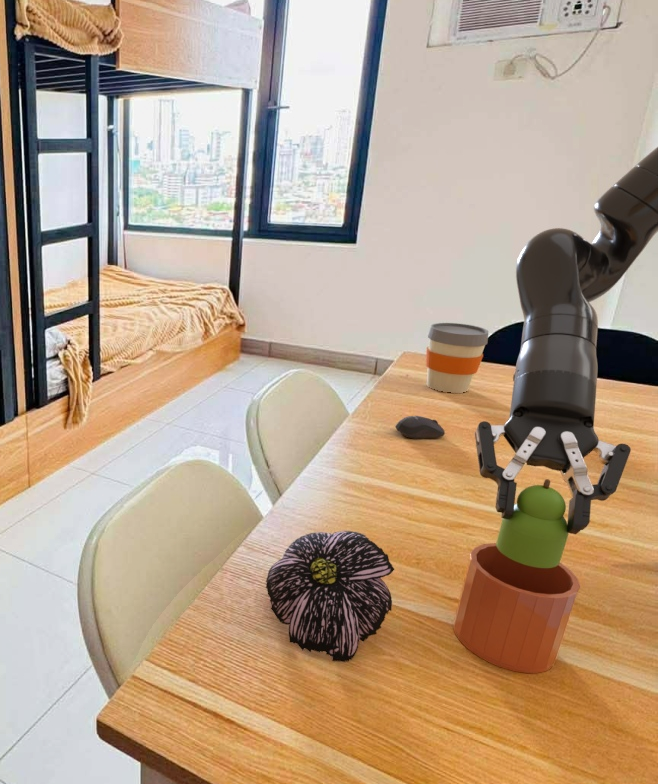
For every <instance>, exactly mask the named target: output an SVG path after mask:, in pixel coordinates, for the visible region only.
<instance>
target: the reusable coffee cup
mask: <svg viewBox="0 0 658 784" xmlns="http://www.w3.org/2000/svg"><path fill="white" fill-rule="evenodd" d="M427 338H428V346H427V347H426V353H425V354H426V355H425V366H426V367H427V369H426V371H427V372H426V386H427V387H428V388H429V387H430V389H431V388H432V390H434V389H435V390H434V391H437V390H438V392H441V391H443V392H442V393H447V392H451V393H450V394H464V393H463V392H465V393H467V392H468V390H469V389H470V385H471V384H472V381H473V378H474V375H475V374H477V373H478V370H479V368H480V366H481V362H482V360H483V358H484V353H483V352H484V349H485V347H486V345H488V341H489V330H488V329H486V328H484V327H480V326H476V325H472V324H467V323H457V322H437V323H433V324H431V325H430V328H429V331H428V335H427ZM466 391H467V392H466Z"/></svg>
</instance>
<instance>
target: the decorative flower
mask: <svg viewBox="0 0 658 784" xmlns="http://www.w3.org/2000/svg"><path fill="white" fill-rule="evenodd" d="M394 571H395V568H394V566H393V564H392V562H390V559H389V554H387V553H385V551H384V550H383V548H381V547H379V546H378V545H377V544H376V543H375V542H374V541H373V540H370V538H368V537H367V535H366V534H363V533H361V532H357V531H351V530H340V531H336V532H333V533H331V532H323V531H321V532H320V531H319V532H310V533H307V534H305V535H302V536H300V537H298V538H296V539H295V540H294V541H293V542H292V543H290V545H289V546H288V547H287V548H286V550H285V551H284V553H283V555H282V558H281V559H279V560H278V561H276V562H274V564H273V565H271V567H270V568H269V570H268V573H267V577H266V579H265V583H266V586H265V589H266V591H267V595H268V597H269V602H270V605H271V606H270V610H271V612H272V613H273V614H274V616H275V617H276V619H278V621H279V623H282V624H283V625H286V626H287V625H288V639H289V643H292V644H296V645H297V646H298V647H299V649H301V651H303V652H304V649H305V650H307V651H308V652H309V653H311V652H312V651H314V652H317V653H323V652H324V653H326V654H325V655H327V656H330V657H331V662H342V663H343V662H344V663H345V662H350V661H352V659H353V658H354V657H355V656H356V654H357V652H358V648H359V645H360V641H361V642H365V640H367V639H368V638H369V637H370V636H374V635H377V631H379V630H380V629H381V628H382V624H383V623H384V621H385V618H386V615H388V614H389V612H392V607H393V600H392V595H391V591H390V589H389V587H388V585H387V584H386V582H385V581H384V580H383V579H382V578H384V577H387V576H389V575H392V573H393V572H394Z"/></svg>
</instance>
